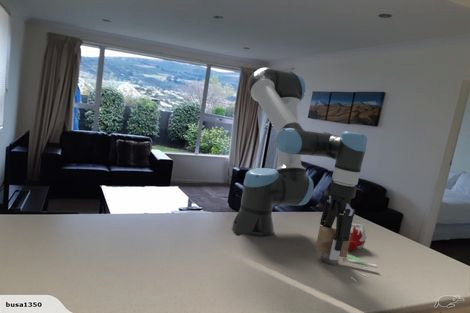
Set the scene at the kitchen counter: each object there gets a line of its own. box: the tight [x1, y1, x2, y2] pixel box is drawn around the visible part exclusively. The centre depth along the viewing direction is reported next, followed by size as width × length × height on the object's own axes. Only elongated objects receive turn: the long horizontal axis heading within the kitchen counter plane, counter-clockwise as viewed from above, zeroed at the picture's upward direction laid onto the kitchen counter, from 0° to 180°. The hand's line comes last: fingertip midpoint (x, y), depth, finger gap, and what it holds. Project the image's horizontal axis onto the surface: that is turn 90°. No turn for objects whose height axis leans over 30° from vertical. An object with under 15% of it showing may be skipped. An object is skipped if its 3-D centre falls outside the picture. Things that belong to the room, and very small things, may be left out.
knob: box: [315, 225, 378, 269], centre depth 104 cm, size 18×5×10 cm, turn 80°
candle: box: [348, 222, 367, 251], centre depth 121 cm, size 9×11×15 cm
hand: (328, 254), depth 105 cm, fingers closed on knob, 6 cm apart
